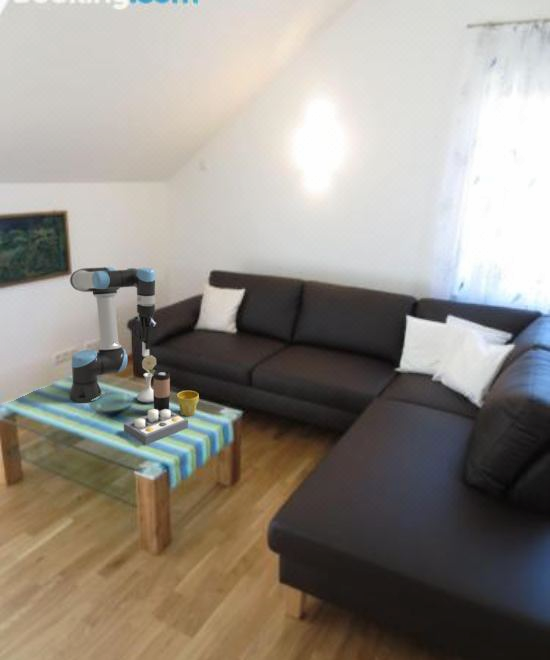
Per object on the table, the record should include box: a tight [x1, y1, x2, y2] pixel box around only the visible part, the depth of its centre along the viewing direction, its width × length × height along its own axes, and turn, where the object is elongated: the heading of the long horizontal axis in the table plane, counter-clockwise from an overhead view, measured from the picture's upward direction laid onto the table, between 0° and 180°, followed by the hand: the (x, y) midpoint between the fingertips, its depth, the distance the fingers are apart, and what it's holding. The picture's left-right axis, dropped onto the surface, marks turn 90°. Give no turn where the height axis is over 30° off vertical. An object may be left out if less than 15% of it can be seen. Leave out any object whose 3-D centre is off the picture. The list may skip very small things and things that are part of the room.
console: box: [123, 411, 189, 446], centre depth 222 cm, size 16×23×4 cm
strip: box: [140, 415, 186, 434], centre depth 219 cm, size 4×21×1 cm, turn 140°
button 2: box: [147, 408, 158, 424], centre depth 222 cm, size 5×5×5 cm
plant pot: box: [176, 390, 200, 417], centre depth 240 cm, size 10×10×10 cm
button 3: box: [160, 409, 172, 419], centre depth 228 cm, size 5×5×5 cm
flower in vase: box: [136, 354, 157, 403], centre depth 248 cm, size 13×11×25 cm
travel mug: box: [153, 369, 171, 411], centre depth 238 cm, size 8×8×20 cm
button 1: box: [134, 417, 145, 429], centre depth 218 cm, size 5×5×5 cm
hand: (145, 355), depth 221 cm, fingers closed
